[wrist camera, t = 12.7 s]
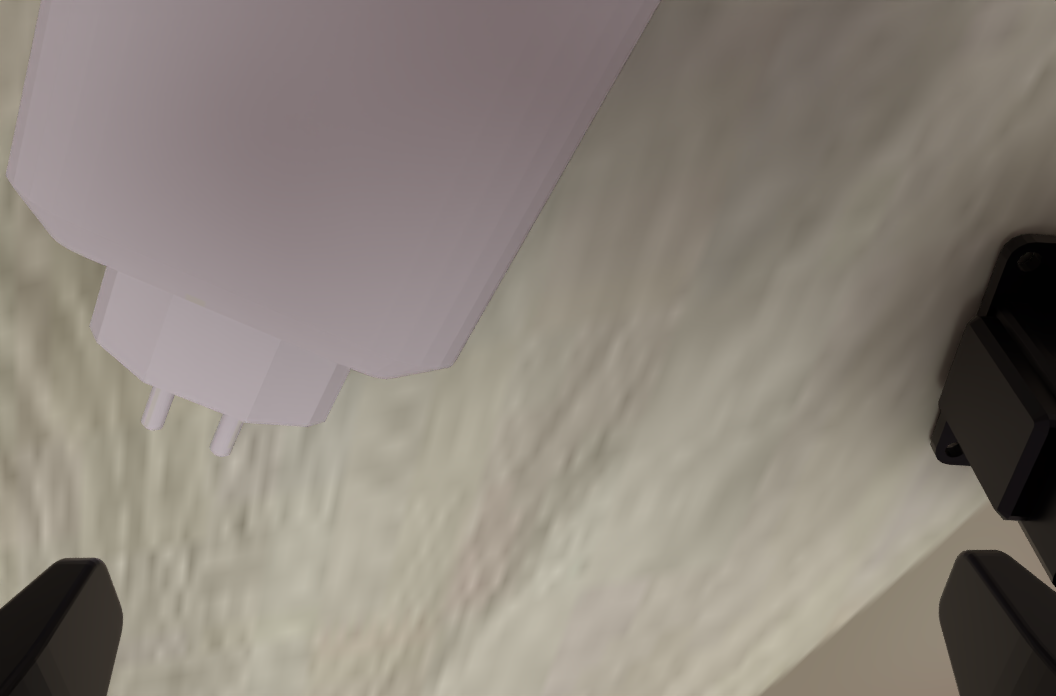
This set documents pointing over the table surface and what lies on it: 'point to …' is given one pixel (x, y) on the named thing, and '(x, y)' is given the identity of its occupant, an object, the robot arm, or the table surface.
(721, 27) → the table surface
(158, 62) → the charger
